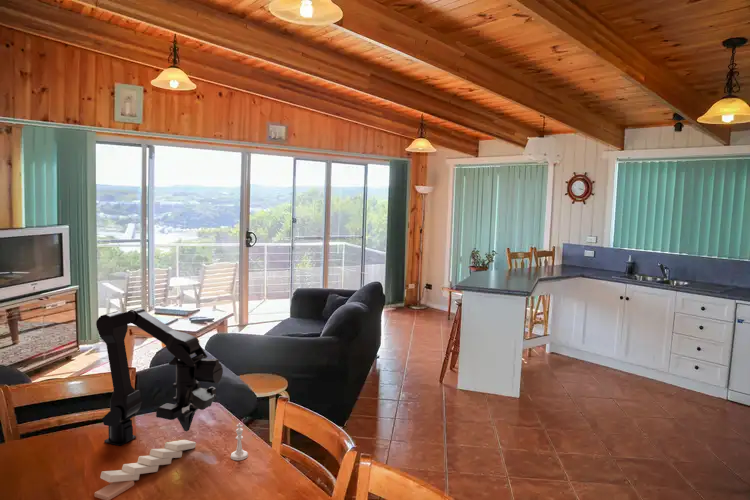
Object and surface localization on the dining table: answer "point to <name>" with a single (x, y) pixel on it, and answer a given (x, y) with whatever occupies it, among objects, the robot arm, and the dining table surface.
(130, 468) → the domino
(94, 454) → the dining table surface
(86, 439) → the dining table surface
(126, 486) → the domino
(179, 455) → the domino
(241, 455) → the chess piece
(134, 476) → the domino
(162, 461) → the domino
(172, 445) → the domino
